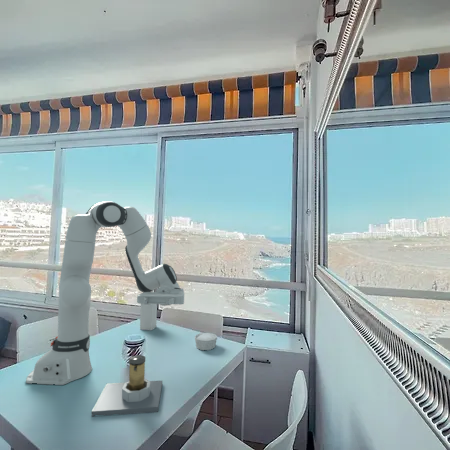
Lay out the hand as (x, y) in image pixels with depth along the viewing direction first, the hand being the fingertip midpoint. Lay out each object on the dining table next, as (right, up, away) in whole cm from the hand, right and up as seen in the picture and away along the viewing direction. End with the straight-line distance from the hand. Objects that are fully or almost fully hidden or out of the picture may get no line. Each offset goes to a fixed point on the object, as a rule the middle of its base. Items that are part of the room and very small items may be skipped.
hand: (156, 302), depth 115 cm
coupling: (-2, -26, -19) cm, 32 cm away
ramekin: (+19, -29, +25) cm, 43 cm away
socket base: (-4, -27, -19) cm, 34 cm away
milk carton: (-17, -29, +50) cm, 61 cm away
